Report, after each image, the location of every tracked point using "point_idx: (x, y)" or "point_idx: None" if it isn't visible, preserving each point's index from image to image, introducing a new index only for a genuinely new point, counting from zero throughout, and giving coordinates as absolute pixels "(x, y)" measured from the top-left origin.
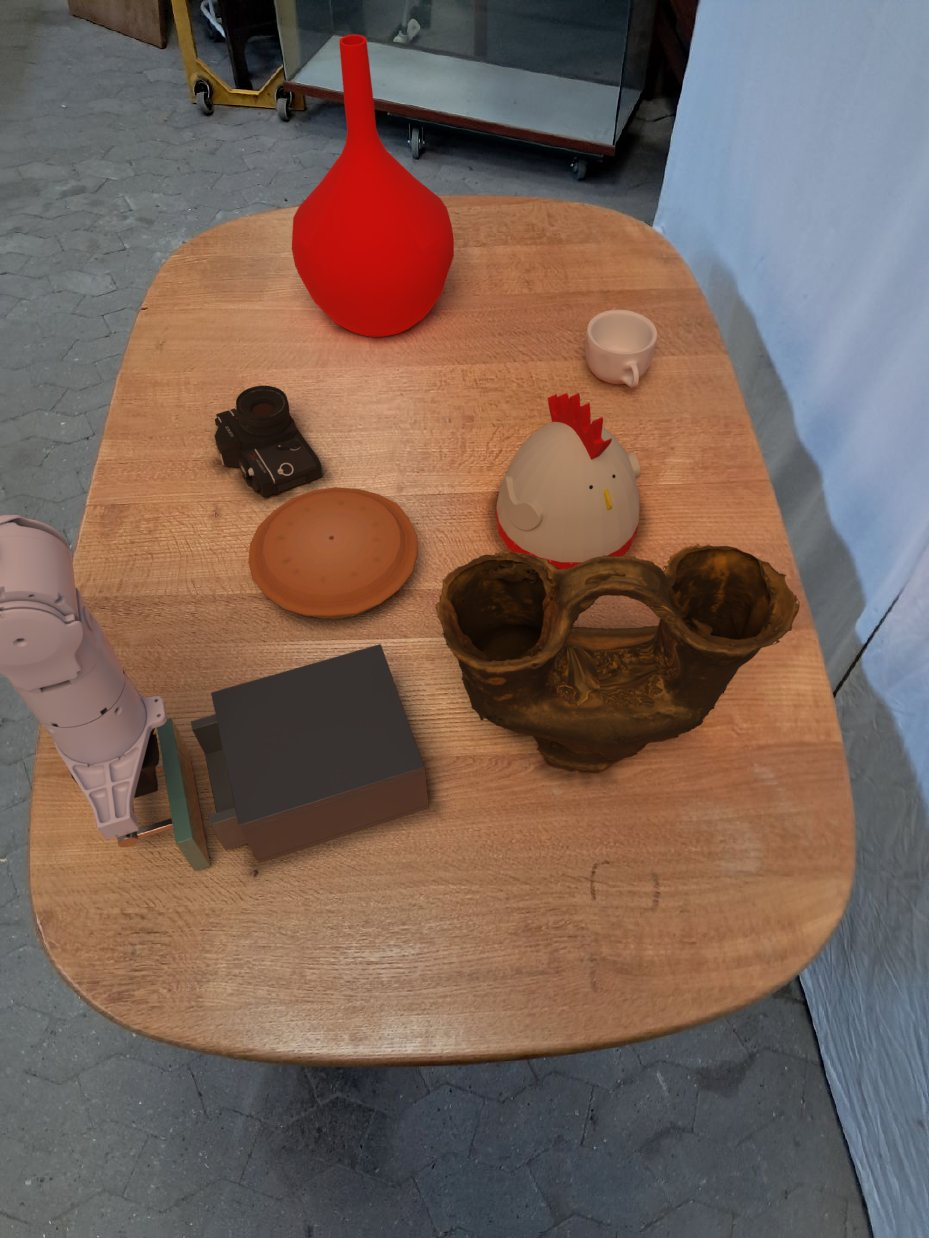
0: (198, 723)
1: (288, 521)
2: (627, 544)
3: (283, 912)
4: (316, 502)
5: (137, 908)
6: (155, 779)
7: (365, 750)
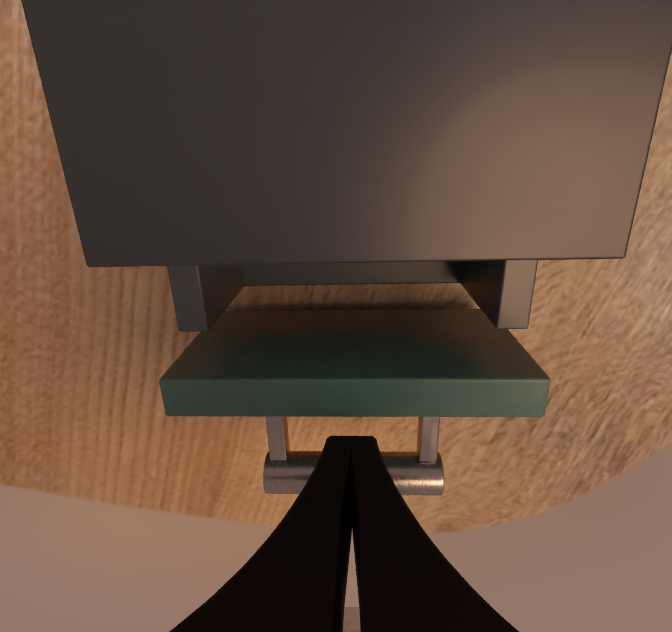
0: (190, 312)
1: None
2: None
3: None
4: None
5: (492, 423)
6: (392, 479)
7: None
